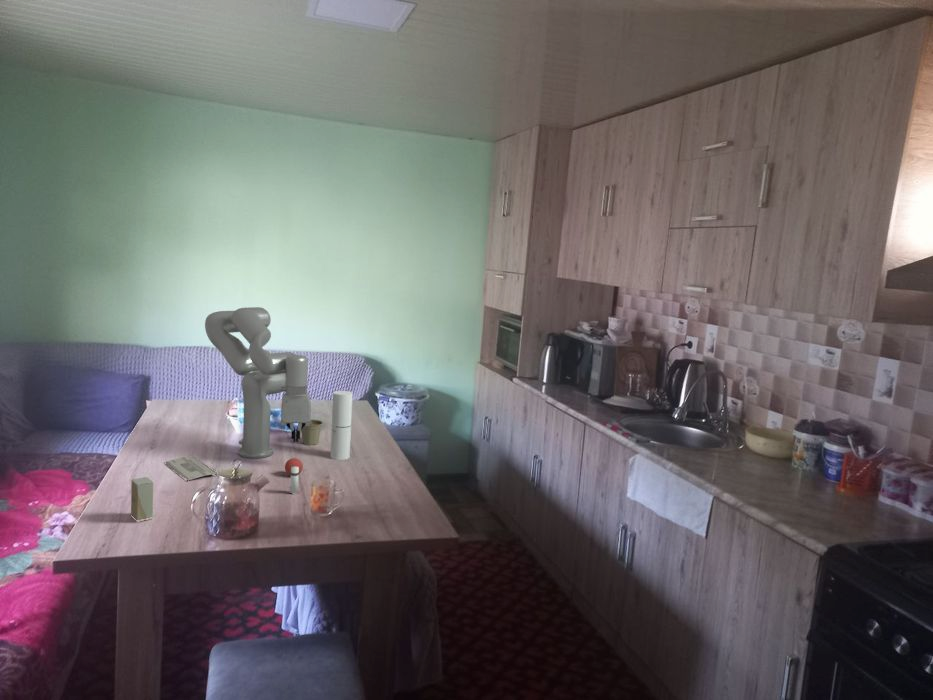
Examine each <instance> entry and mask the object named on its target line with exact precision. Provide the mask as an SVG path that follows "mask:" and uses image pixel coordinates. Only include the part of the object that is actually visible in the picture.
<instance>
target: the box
mask: <svg viewBox="0 0 933 700" xmlns="http://www.w3.org/2000/svg"><path fill="white" fill-rule="evenodd" d="M130 484H131V493H130V495H131V497H130V499H131V503H130V516H131V515H132V516H133V517H134V518H135V519H136V520H141V519H146V518H150V517H153V515H154V514H153V512H154V482H153V481H152V480H151V479H150V478H149V477H147V476H146V477H139V478H134V479H131V483H130ZM153 518H154V517H153Z"/></svg>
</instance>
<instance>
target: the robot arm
mask: <svg viewBox="0 0 933 700" xmlns="http://www.w3.org/2000/svg"><path fill="white" fill-rule="evenodd" d="M271 319H272V318H271V315H270V313H269V312H268V310H267V309H265V308H264V307H260V306H257V307H255V306H254V307H252V306H251V307H241V308H237V309H236V310H220V311H215V312H211V313H210V314H208V315H207V316H206V318H205V321H204V322H205V323H204V329H205V333H206V336H207V337H208V340H209V341H210V343H211V344H212V345H213V346H214V347H215V348H216V349H217V350H218V351H219V352H220V354H221V355H222V356H223V357H224V359H225V361H226V362H227V363H228V365H229V366H230V367H231V369H232V370H233V371H234V372H235V374H237V375H238V376H243V377H242V378H241V382H240V383H241V392H242V397H243V398H242V399H243V428H242V430H243V432H242V439H241V440H238V444H239V445H241V448H240V449H239V450H238V452H237V453H238V455H239V456H240V457H243V458H247V459H263V458H268V457H270V456H272V455H273V454H274V449H273V448H272V447H270V441H271V440H270V439H271V436H270V435H271V404H270V403H269V401H268V399H267V396H269V395H276V394H280V393H283V392H284V393H283V395H282V399H281V407H280V408H281V409H280V423H279V425H281V426H283V427H287V428H288V429H289V430H290V431H291V432H290V433H291V434H290V435H291V440H293V443H299V440H300V439H301V429H302V428H303V427H304V426H307V425H310V424H311V420H312V419H311V418H312V409H311V408H312V405H311V403H312V402H311V397H310V396H311V395H310V393H308V366H309V362H308V357H307V356H305V355H303V354H295V353H293V352H289V351H287V352H286V351H284V352H274V353H273V352H272V353H271V352H270V351H268V350H266V349H264V348H263V347H265V346H266V345H267V344H268V343H269V342H270V340H271V337H272V333H271V332H272V331H270V329H269V328H268V327H269V326H270V325H271ZM231 333H232V334H231ZM233 333H240V334H241V336H242V337H243V338H244V339H245V340H246V341H247V342H248V344H249V348H247V347H246V345H244V343H243V341H242V340H240V339H239V338H238V337H236V336H235V335H233ZM295 424H297V427H295Z"/></svg>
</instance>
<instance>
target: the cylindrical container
mask: <svg viewBox="0 0 933 700" xmlns="http://www.w3.org/2000/svg"><path fill="white" fill-rule="evenodd" d="M332 394H333V395H332V412H331V413H332V415H331V416H332V418H331V435H330V439H331V440H330V459H332V460H336V461H344V460H345V459H346V460H348V458H349V459H350V457H351V454H350V453H351V438H352V437H351V436H352V435H351V432H352V414H353V413H352V412H353V394H354V392H352V391H348V390H335V391H333V393H332Z"/></svg>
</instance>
